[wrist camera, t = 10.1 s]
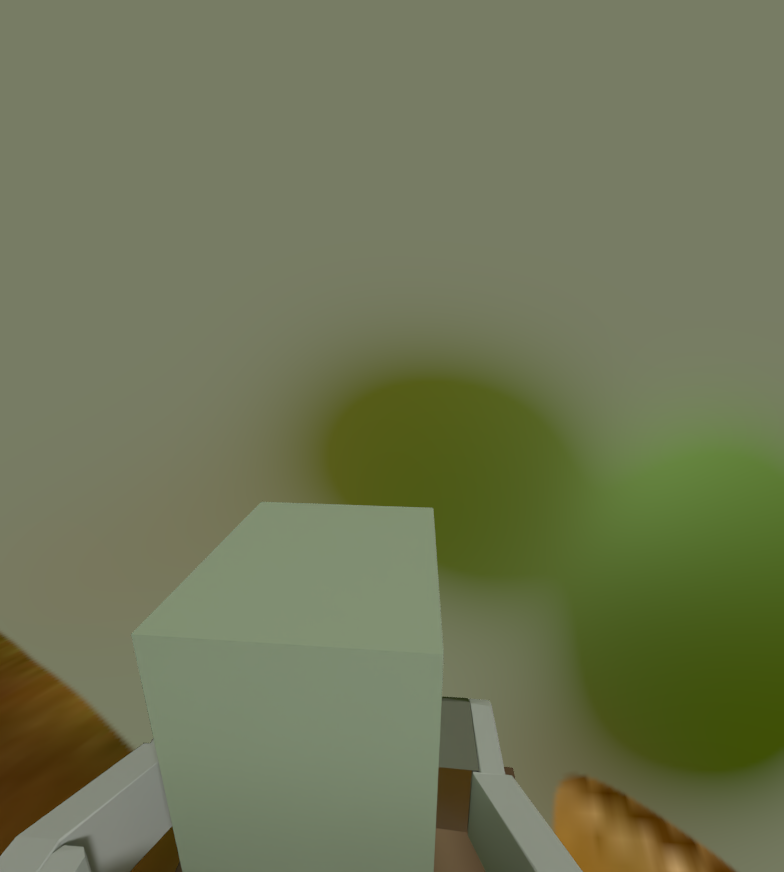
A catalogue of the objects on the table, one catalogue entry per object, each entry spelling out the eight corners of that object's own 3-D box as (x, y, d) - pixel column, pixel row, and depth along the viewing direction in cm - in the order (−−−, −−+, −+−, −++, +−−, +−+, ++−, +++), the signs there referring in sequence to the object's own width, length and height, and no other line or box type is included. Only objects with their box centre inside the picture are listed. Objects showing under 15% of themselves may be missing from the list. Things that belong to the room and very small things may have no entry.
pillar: (225, 1070, 8) (130, 634, 5) (292, 820, 13) (261, 501, 10) (423, 1100, 8) (443, 654, 5) (422, 833, 12) (433, 508, 9)
